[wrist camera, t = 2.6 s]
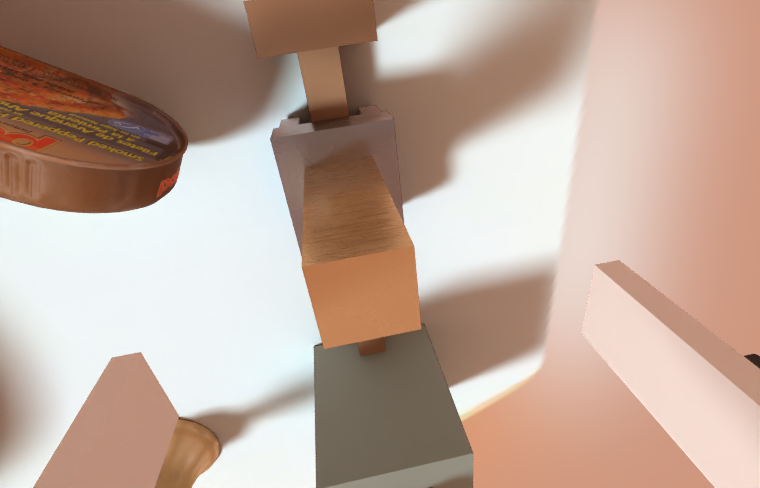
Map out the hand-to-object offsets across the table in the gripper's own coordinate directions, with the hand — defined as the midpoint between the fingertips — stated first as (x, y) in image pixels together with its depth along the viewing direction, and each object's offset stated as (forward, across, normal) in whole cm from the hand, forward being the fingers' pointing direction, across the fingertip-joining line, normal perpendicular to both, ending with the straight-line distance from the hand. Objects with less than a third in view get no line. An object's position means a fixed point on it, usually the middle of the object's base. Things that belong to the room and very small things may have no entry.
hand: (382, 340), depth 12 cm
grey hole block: (+15, 0, -18) cm, 24 cm away
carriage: (+15, 0, 0) cm, 15 cm away
